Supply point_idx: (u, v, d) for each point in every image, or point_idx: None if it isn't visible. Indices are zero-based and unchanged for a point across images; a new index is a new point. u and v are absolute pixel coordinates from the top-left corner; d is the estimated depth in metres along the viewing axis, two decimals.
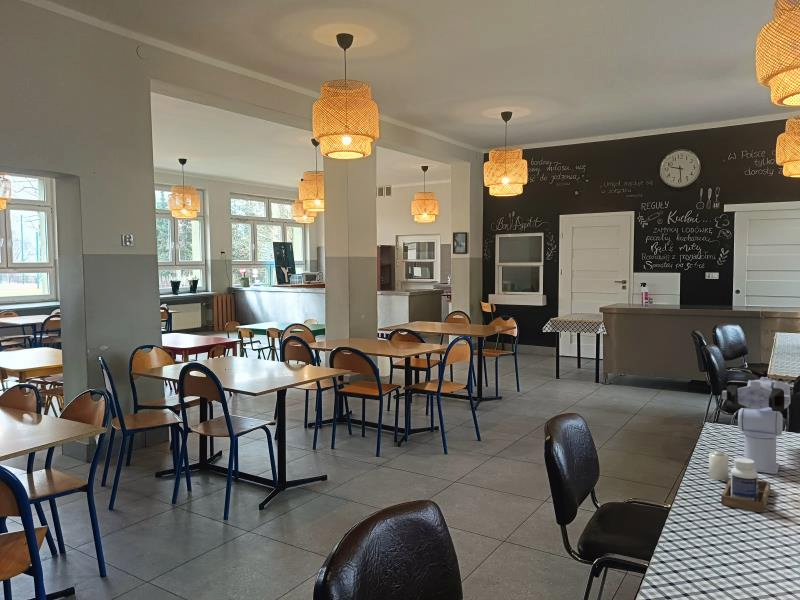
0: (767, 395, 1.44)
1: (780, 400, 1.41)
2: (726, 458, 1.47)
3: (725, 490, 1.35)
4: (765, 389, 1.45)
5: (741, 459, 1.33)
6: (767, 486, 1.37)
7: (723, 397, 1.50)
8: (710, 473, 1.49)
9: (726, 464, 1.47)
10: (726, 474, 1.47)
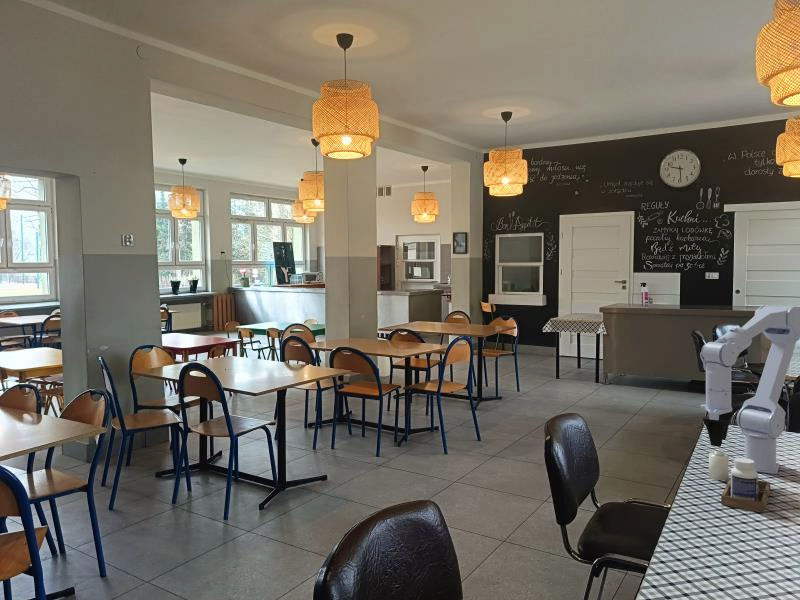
0: None
1: None
2: (726, 458, 1.47)
3: (725, 490, 1.35)
4: None
5: (741, 459, 1.33)
6: (767, 486, 1.37)
7: None
8: (710, 473, 1.49)
9: (726, 464, 1.47)
10: (726, 474, 1.47)
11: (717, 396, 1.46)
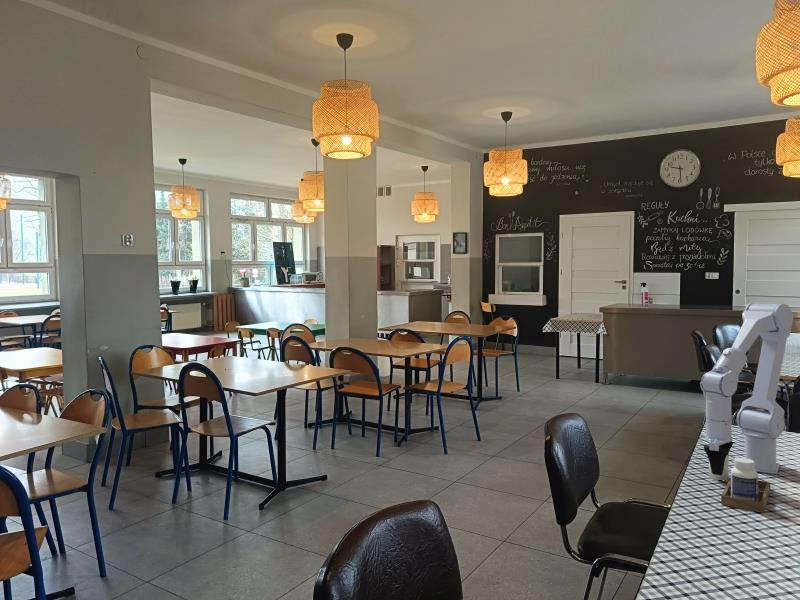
0: None
1: None
2: (726, 458, 1.47)
3: (725, 490, 1.35)
4: None
5: (741, 459, 1.33)
6: (767, 486, 1.37)
7: None
8: (710, 473, 1.49)
9: (726, 464, 1.47)
10: (726, 474, 1.47)
11: (717, 426, 1.46)
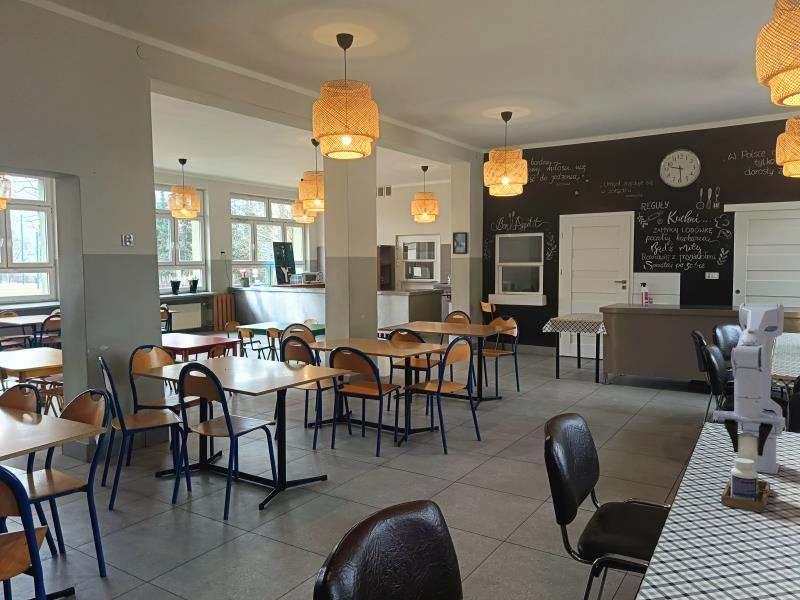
0: None
1: None
2: None
3: (725, 490, 1.35)
4: (757, 421, 1.35)
5: (741, 459, 1.33)
6: (767, 486, 1.37)
7: None
8: (753, 458, 1.36)
9: None
10: None
11: (762, 403, 1.37)
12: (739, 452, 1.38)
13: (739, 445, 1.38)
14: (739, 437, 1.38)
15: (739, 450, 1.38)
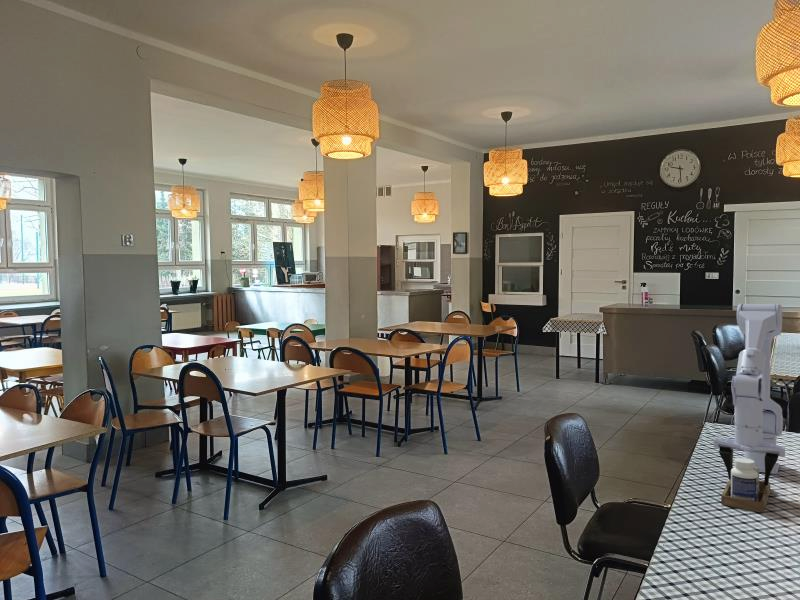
0: None
1: None
2: None
3: (725, 490, 1.35)
4: (757, 450, 1.36)
5: (741, 459, 1.33)
6: (767, 486, 1.37)
7: None
8: None
9: None
10: None
11: (762, 432, 1.37)
12: None
13: None
14: None
15: None
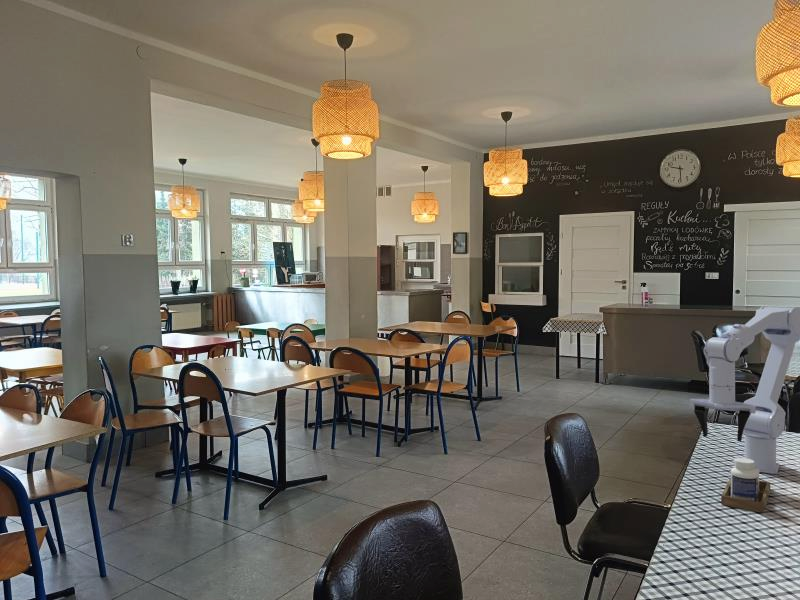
0: None
1: None
2: None
3: (725, 490, 1.35)
4: (730, 407, 1.45)
5: (741, 459, 1.33)
6: (767, 486, 1.37)
7: None
8: None
9: None
10: None
11: (734, 391, 1.46)
12: None
13: None
14: None
15: None
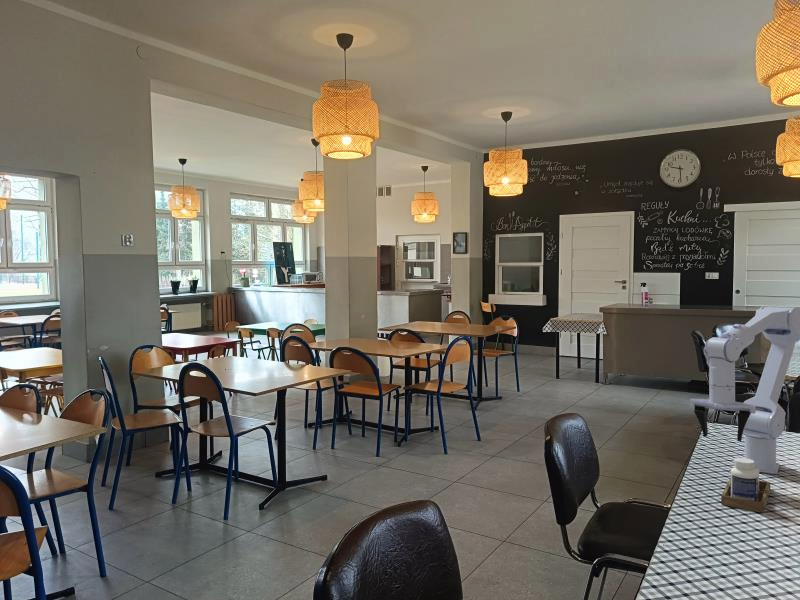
0: None
1: None
2: None
3: (725, 490, 1.35)
4: (730, 407, 1.45)
5: (741, 459, 1.33)
6: (767, 486, 1.37)
7: None
8: None
9: None
10: None
11: (734, 391, 1.46)
12: None
13: None
14: None
15: None
